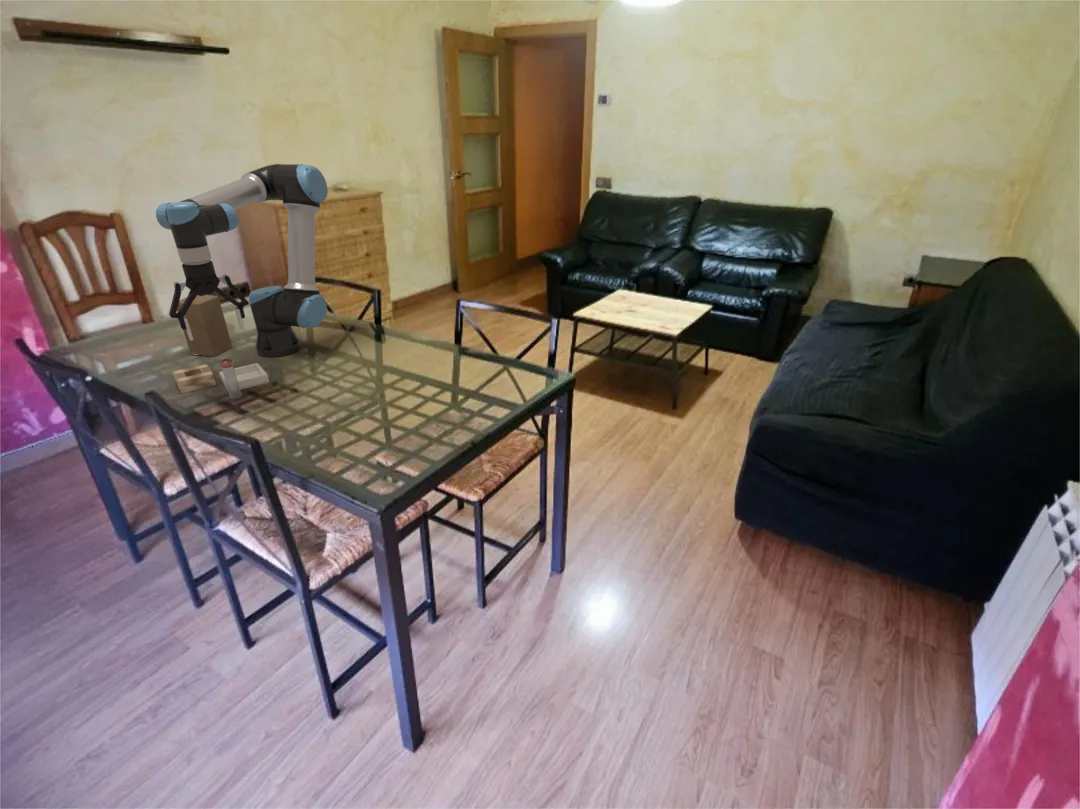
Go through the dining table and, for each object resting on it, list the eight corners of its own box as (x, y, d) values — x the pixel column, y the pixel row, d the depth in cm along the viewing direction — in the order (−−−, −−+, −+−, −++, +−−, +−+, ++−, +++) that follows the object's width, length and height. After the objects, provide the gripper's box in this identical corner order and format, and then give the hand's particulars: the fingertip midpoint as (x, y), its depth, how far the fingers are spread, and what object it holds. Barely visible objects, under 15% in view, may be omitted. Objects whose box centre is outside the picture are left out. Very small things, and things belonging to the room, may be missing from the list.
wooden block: (214, 357, 203) (198, 303, 194) (190, 355, 205) (173, 302, 196) (233, 347, 212) (218, 295, 202) (209, 345, 213) (194, 293, 204)
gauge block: (210, 374, 189) (206, 364, 188) (216, 385, 182) (213, 373, 181) (176, 382, 184) (172, 371, 182) (181, 393, 177) (177, 382, 175)
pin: (240, 393, 177) (230, 358, 172) (243, 397, 175) (233, 361, 169) (229, 396, 175) (218, 360, 170) (231, 400, 173) (221, 364, 167)
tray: (259, 371, 192) (257, 362, 191) (269, 382, 184) (267, 374, 182) (221, 380, 186) (218, 372, 184) (229, 393, 177) (227, 384, 176)
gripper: (242, 253, 165) (258, 322, 175) (142, 265, 151) (166, 339, 161) (248, 257, 160) (265, 328, 170) (145, 271, 146) (170, 347, 156)
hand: (217, 334), depth 165 cm, fingers open, 13 cm apart
